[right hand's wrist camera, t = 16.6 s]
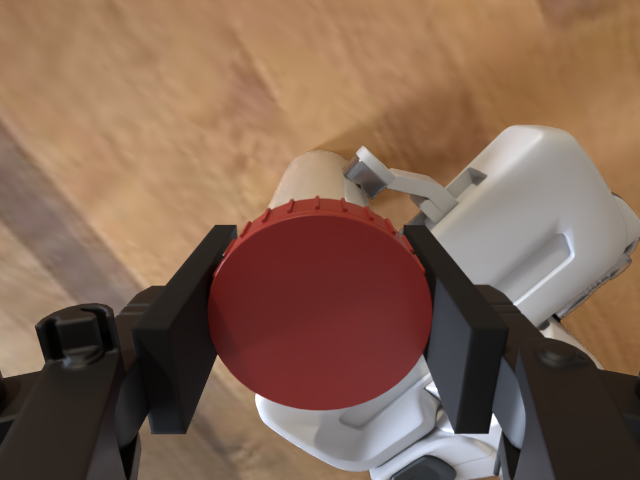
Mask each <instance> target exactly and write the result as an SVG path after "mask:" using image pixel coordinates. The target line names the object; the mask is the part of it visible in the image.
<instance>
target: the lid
mask: <svg viewBox="0 0 640 480" xmlns="http://www.w3.org/2000/svg"><path fill="white" fill-rule="evenodd" d="M413 252H414V250H413V248H412V247H411V245H410V243H409V242H408V240H407V238H406V237H405V235H403V236H401V235H400V234H399V233H398V232H397V231H396V230H395V229H394V227H393V225H392V223H391V222H390V220H389V219H388V218H386V220H384V219H383V218H382V217H380V216H379V215H377V214H375V213H374V212H372V211H371V210H370V208H369V206H365V207H362V206H359V205H357V204H354V203H350V202H346V200H345V198H341V200H336V199H329V198H319V196H315V198H312V199H303V200H298V201H294V199H290V202H289V203H286V204H283V205H281V206H278V207H276V208H273V209H272V210H271V208H270V207H269V208H267V209H266V211H265V213H264V214H263V215H261V216H260V217H258V218H257V219H256V220H254V221H253V222H252V223H251V222H250V221H249V222H247V224H246V225H245V227H244V229H243V231H242V232H241V234H240V235H239V237H238V238H237V239H236V240H235V239H234V238H233V240H232V241H231V243H230V244H229V246H228V248H227V249H226V251H225V253H224V254H223V256H224V257H225V259H224V258H223V259H222V261H221V263H220V264H219V266H218V267H217V269H216V271H215V272H214V274H213V277H212V278H214V279H213V282H212V285H211V288H210V292H209V297H208V303H207V314H208V323H209V331H210V336H211V340H212V342H213V345H214V347H215V349H216V352H217V353H218V355H219V357H220V359H221V360H222V362H223V363H224V365H225V366H226V367H227V369H228V370H229V371H230V372H231V373H232V374H233V375H234V376H235V377H236V378H237V379H238V380H239V381H240V382H241V383H242V384H243V385H245V386H246V387H247V388H249V389H250V390H252V391H253V392H255V393H256V394H258V395H260V396H262V397H264V398H266V399H268V400H270V401H272V402H275V403H278V404H281V405H284V406H288V407H292V408H297V409H303V410H313V411H327V410H338V409H343V408H348V407H353V406H356V405H359V404H362V403H365V402H368V401H370V400H372V399H374V398H377V397H378V396H380V395H382V394H384V393H385V392H387V391H389V390H390V389H391V388H393V387H394V386H395V385H397V384H398V383H399V382H400V381H401V380H402V379H403V378H405V377H406V376H407V375H408V373H409V372H410V371H411V370H412V369H413V367H414V366H415V365H416V363H417V362H418V360H419V359H420V357H421V355H422V354H423V352H424V349H425V347H426V345H427V343H428V339H429V336H430V332H431V325H432V317H433V303H432V297H431V291H430V288H429V285H428V282H427V279H426V277H425V275H424V274H425V273H426V271H425V269H424V268H423V266H422V264H421V263H420V261H419V259H418V258H417V256H416V254H415V255H413Z"/></svg>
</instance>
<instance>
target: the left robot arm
mask: <svg viewBox="0 0 640 480" xmlns="http://www.w3.org/2000/svg"><path fill="white" fill-rule="evenodd" d="M342 170H343V173H344V174H345V175H346V176H347V177H348V178H349V179H350V180H351V181H352V182H353V183H355V184H359V185H360V188H361V190H362V191H363V192H364V193H365V194H366V195H367V196H368V197H369V198H370V199H371V200H373V199H374V198H375V197H376V196H377V195H378V194H379V193H380V192H381V191H382V190H383V189H384V188H388V189H392V190H396V191H401V192H405V193H409V194H410V199H411V200H412V201H413V202H414V203H415V204H416V205H417V206H418V207H419V209H420V210H421V211H420V212H419V213H418V214H417V215H416V216H415V217H414V218H413V219H412V220H411V221H410V222H409V223H408V224H407V225H425V226H426V227H427V228H428V229H429V230H430V232H431V233H432V234H433V235H434V236H435V238H436V239H437V240H438V241H439V243H440V244H441V245H442V246H443V247H444V249H445V250H446V251H447V252H448V254H449V255H450V256H451V257H452V258H453V260H454V261H455V262H456V263H457V265H458V266H459V267H460V268H461V269H462V271H463V272H464V273H465V274H466V276H467V277H468V278H469V279H470V280H471V282H472V283H473V284H489V285H490V286H492V287H494V288H496V289H497V290H499V291H501V292H503V293H504V294H505V295H506V296H507V297H508V298H509V299H510V300H511V301H512V302H513V305H515V306H516V307H517V308H518V309H519V310H520V311H521V314H524V315H525V316H526V317H527V318H528V319H529V321H530V322H531V323H532V324H533V325H534V326H535V327H536V328H537V329H538V330H539V331H540V332H541V333H542V334H543V335H544V337H547V338H552V339H556V340H560V341H564V342H566V343H568V344H571V345H573V346H575V347H577V348H579V349H580V350H582V351H583V352H585V353H586V354H588V356H589V357H590V358H591V359H592V360H593V361H594V362H595V364H596V366H597V368H598V369H602V370H604V369H603V367H602V365H601V364H600V363H599V362H598V360H597V359H596V358H595V357H594V356H593V354H592V353H590V352H589V350H588V349H586V348H585V347H584V346H583V345H582V344H581V343H580V342H579V341H578V340H577V339H576V338H575V337H574V336H573V335H572V334H571V333H570V332H569V331H568V330H567V329H566V328H565V327H564V326H563V325H562V324H560V323H561V322H560V320H562V319H563V318H564V317H566V316H567V315H568V314H570V313H571V312H572V311H574V310H575V309H576V308H577V307H579V306H580V305H581V304H583V303H584V302H585V301H586V300H587V299H588V298H589V296H591V295H592V294H593V292H595V291H596V290H597V289H599V288H600V287H601V285H604V284H605V283H606V282H607V281H609V280H613V279H614V278H616V277H618V276H619V275H620V274H621V273H623V272H624V271H625V270H626V269H627V268H628V267H629V265H630V264H631V263H632V259H631V258H630V257H629V256H630V255H631V254H632V252H633V251H634V250H635V248H636V247H637V245H638V243H639V240H640V219H639V217H638V216H637V215H636V214H635V213H634V212H633V210H632V209H631V208H630V207H629V206H628V205H627V203H626V202H625V201H624V200H623V199H622V198H621V197H620V196H619V195H617V194H615V193H613V192H611V191H610V189H609V187H608V185H607V184H606V182H605V180H604V179H603V177H602V175H601V174H600V172H599V170H598V169H597V167H596V166H595V164H594V163H593V162H592V160H591V159H590V157H589V156H588V154H587V153H586V152H585V150H584V149H583V147H582V146H581V145H580V144H579V142H578V141H577V140H576V139H575V138H574V137H573V136H572V135H571V134H570V133H568V132H566V131H564V130H562V129H559V128H555V127H550V126H543V125H513V126H510V127H508V128H506V129H505V130H504V131H503V132H502V133H501V134H499V135H498V136H497V137H496V138H495V139H494V140H493V141H492V142H491V143H490V144H489V145H488V146H487V147H486V148H485V149H484V150H483V151H482V152H481V153H480V154H479V155H478V156H477V157H476V158H475V159H474V160H473V161H472V162H471V163H470V164H469V165H468V166H466V167H465V168H464V169H463V170H462V171H461V172H460V173H459V174H458V175H457V176H456V177H455V178H454V179H453V180H452V181H451V182H450V183H449V184H448V185H447V186H446V187H445V188H444V187H443V186H442V185H440V184H439V183H438V182H436V181H435V180H433V179H432V178H431V177H429V176H427V175H422V174H417V173H413V172H408V171H403V170H399V169H394V168H390V169H388V168H387V167H386V166H385V165H384V164H382V163H381V162H380V161H379V160H378V159H377V158H376V157H375V156H374V155H373V154H372V153H371V152H370V151H369V150H368V149H367V148H366V147H364V146H362V147H361V148H360V149H359V150H358V151H357V152H356V153H355V154H354V156H353V157H352V158H351V159H350V160H349V161H348V162H347V163H346V165H345V166H344V167H343V168H342ZM403 229H404V228H402V229H401V230H400V231H399V232H398V233H399V234H400V235H401V236H403ZM255 401H256V405H257V408H258V411H259V414H260V417H261V419H262V420H263V422H264V423H265V424H266V425H268V426H269V427H270V428H271V429H272V430H274V431H275V432H277V433H278V434H280V435H281V436H282V437H284V438H285V439H287V440H288V441H290V442H291V443H293V444H295V445H296V446H298V447H299V448H301V449H303V450H304V451H306V452H308V453H309V454H311V455H313V456H314V457H316V458H318V459H320V460H322V461H323V462H325V463H327V464H329V465H331V466H334V467H336V468H339V469H342V470H346V471H353V472H362V471H367V470H369V472H370V476H371V480H471V479H477V478H483V477H490V476H494V475H493V471H494V465H495V460H496V455H497V450H498V446H499V441H500V436H501V432H502V428H501V427H500V425H499V423H498V421H497V419H496V417H495V416H494V414H493V415H492V420H491V425H490V430H489V434H454V431H453V429H452V426H451V424H450V421H449V419H448V416H447V414H446V411H445V409H444V406H443V404H442V401H441V399H440V396H439V394H438V391H437V389H436V386H435V384H434V381H433V379H432V376H431V374H430V371H429V369H428V366H427V364H426V361H425V359H424V356H423V354H422V355H421V357H420V359H419V360H418V362H417V363H416V365H415V366H414V367H413V369H412V370H411V371H410V372H409V373H408V375H407V376H406V377H405V378H403V379H402V380H401V381H400V382H399V383H398V384H397V385H395V386H394V387H393V388H391V389H390V390H389V391H387V392H385V393H384V394H382V395H380V396H378V397H377V398H374V399H372V400H370V401H368V402H365V403H362V404H359V405H356V406H353V407H348V408H343V409H338V410H327V411H313V410H303V409H297V408H292V407H288V406H284V405H281V404H278V403H275V402H272V401H270V400H268V399H266V398H264V397H262V396H260V395H258V394H256V396H255ZM499 478H500V480H503V475H502V468H500V472H499Z"/></svg>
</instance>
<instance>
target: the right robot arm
mask: <svg viewBox="0 0 640 480" xmlns="http://www.w3.org/2000/svg"><path fill="white" fill-rule="evenodd" d="M403 235H405V237H406V238H407V240H408V242H409V243H410V245H411V247H412V248H413V250H414V252H413V255H415V254H416V256H417V258H418V259H419V261H420V263H421V264H422V266H423V268H424V269H425V271H426V273H425V274H424V275H425V277H426V279H427V282H428V285H429V288H430V291H431V297H432V303H433V317H432V325H431V332H430V336H429V339H428V343H427V345H426V347H425V349H424V352H423V356H424V359H425V361H426V364H427V366H428V369H429V371H430V374H431V376H432V379H433V381H434V384H435V386H436V389H437V391H438V394H439V396H440V399H441V401H442V404H443V406H444V409H445V411H446V414H447V416H448V419H449V421H450V424H451V426H452V429H453V431H454V434H489V430H490V425H491V420H492V415H493V414H494V416H495V417H496V419H497V421H498V423H499V425H500V427H501V428H502V432H501V436H500V441H499V446H498V450H497V455H496V460H495V465H494V471H493V475H497V476H499V472H500V468H502V475H503V480H640V372H639V375H638V376H633V375H627V374H622V373H617V372H612V371H607V370H602V369H598V368H597V366H596V364H595V362H594V361H593V360H592V359H591V358H590V357H589V356H588V354H586V353H585V352H583V351H582V350H580V349H579V348H577V347H575V346H573V345H571V344H568V343H566V342H564V341H560V340H556V339H552V338H547V337H544V335H543V334H542V333H541V332H540V331H539V330H538V329H537V328H536V327H535V326H534V325H533V324H532V323H531V322H530V321H529V319H528V318H527V317H526V316H525V315H524V314H521V311H520V310H519V309H518V308H517V307H516V306H515V305H513V302H512V301H511V300H510V299H509V298H508V297H507V296H506V295H505V294H504V293H503V292H501V291H499V290H497V289H496V288H494V287H492V286H490V285H489V284H473V283H472V282H471V280H470V279H469V278H468V277H467V276H466V274H465V273H464V272H463V271H462V269H461V268H460V267H459V266H458V265H457V263H456V262H455V261H454V260H453V258H452V257H451V256H450V255H449V254H448V252H447V251H446V250H445V249H444V247H443V246H442V245H441V244H440V243H439V241H438V240H437V239H436V238H435V236H434V235H433V234H432V233H431V232H430V230H429V229H428V228H427V227H426V226H425V225H404V229H403ZM233 238H234V239H235V240H236V239H237V225H215V226H214V227H213V228H212V230H211V231H210V232H209V233H208V234H207V236H206V237H205V238H204V239H203V240H202V242H201V243H200V244H199V245H198V247H197V248H196V249H195V250H194V251H193V253H192V254H191V255H190V256H189V258H188V259H187V260H186V261H185V262H184V264H183V265H182V266H181V267H180V269H179V270H178V271H177V272H176V273H175V275H174V276H173V277H172V278H171V280H170V281H169V282H168V283H167V284H166V286H151V287H149V288H147V289H145V290H144V291H142V292H140V293H138V294H137V295H136V296H135V297H134V298H133V299H132V300H131V301H130V302H129V303H128V304H127V307H125V308H124V309H123V310H122V311H121V312H120V314H119V315H117V316H116V317H115V318H114V313H113V309H112V308H110V307H109V306H107V305H104V304H98V303H92V304H81V305H76V306H71V307H67V308H65V309H62V310H59V311H56V312H54V313H52V314H50V315H49V316H47V317H45V318H43V319H42V320H41V321H40V322H39V323H38V324H37V325H36V326H35V329H36V332H37V336H38V339H39V342H40V346H41V349H42V352H43V356H44V359H45V365H44V367H43V369H42V370H41V371H38V372H33V373H27V374H22V375H17V376H12V377H7V378H3V377H2V374H1V371H0V480H137V476H138V469H139V462H140V455H141V442H140V436H139V432H138V431H139V429H140V427H141V425H142V424H143V422H144V420H145V418H146V416H147V414H148V419H149V424H150V429H151V434H186V432H187V430H188V427H189V425H190V422H191V419H192V417H193V414H194V412H195V409H196V407H197V404H198V402H199V399H200V397H201V394H202V392H203V389H204V387H205V384H206V382H207V379H208V377H209V374H210V372H211V369H212V367H213V364H214V362H215V359H216V357H217V354H218V353H217V352H216V349H215V347H214V345H213V342H212V340H211V336H210V331H209V323H208V314H207V303H208V297H209V292H210V288H211V285H212V282H213V279H214V278H212V277H213V274H214V272H215V271H216V269H217V267H218V266H219V264H220V263H221V261H222V259H223V258H224V259H225V257H224V256H223V254H224V253H225V251H226V249H227V248H228V246H229V244H230V243H231V241H232V240H233Z"/></svg>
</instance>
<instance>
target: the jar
mask: <svg viewBox="0 0 640 480" xmlns="http://www.w3.org/2000/svg"><path fill="white" fill-rule="evenodd" d="M347 162H348V161H347V160H346V159H344V158H343V157H341V156H340V155H338V154H336V153H333V152H330V151H325V150H316V151H310V152H307V153H304V154H302V155H300V156H298V157H297V158H296V159H294V160H293V161H292V162H291V163H290V164H289V166H288V167H287V168H286V170H285V172H284V174H283V176H282V178H281V180H280V182H279V184H278V186H277V188H276V191H275V193H274V195H273V197H272V199H271V201H270V203H269V205H268V207H267V208H269V207H270V208H271V210H272V209H273V208H276V207H278V206H281V205H283V204H286V203H289V202H290V199H294V201H298V200H303V199H312V198H315V196H319V198H329V199H336V200H341V198H345V200H346V202H350V203H354V204H357V205H359V206H362V207H365V206H369V208H370V210H371V211H372V212H374V209H373V207H372V205H371V203H370V201H369V199H368V197H367V195H366V194H365V193H364V192H363V191H362V190H361V188H360V185H359V184H355V183H353V182H352V181H351V180H350V179H349V178H348V177H347V176H346V175H345V174H344V173H343V170H342V168H343V167H344V166H345V165H346V163H347ZM374 213H375V212H374Z"/></svg>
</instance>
